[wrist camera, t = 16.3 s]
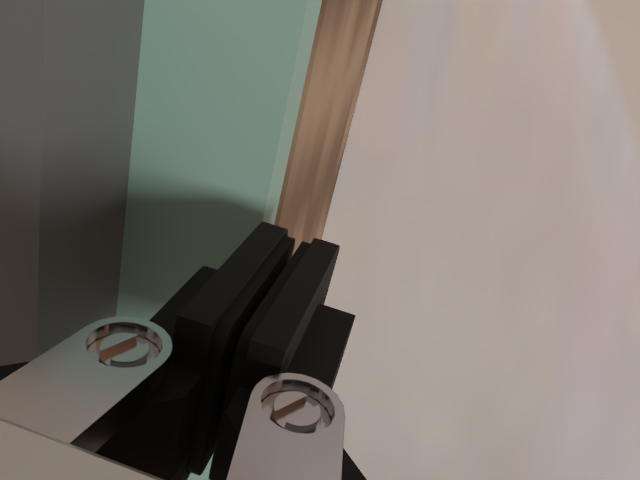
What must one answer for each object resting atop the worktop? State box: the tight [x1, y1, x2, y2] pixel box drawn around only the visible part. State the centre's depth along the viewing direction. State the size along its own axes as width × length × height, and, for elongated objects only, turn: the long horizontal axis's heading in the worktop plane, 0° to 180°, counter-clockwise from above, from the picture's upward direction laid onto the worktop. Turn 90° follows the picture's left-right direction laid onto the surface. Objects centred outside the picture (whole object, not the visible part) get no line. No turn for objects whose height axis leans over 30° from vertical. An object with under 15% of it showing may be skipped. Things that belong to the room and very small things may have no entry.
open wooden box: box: [274, 0, 382, 256], centre depth 19 cm, size 16×20×9 cm
